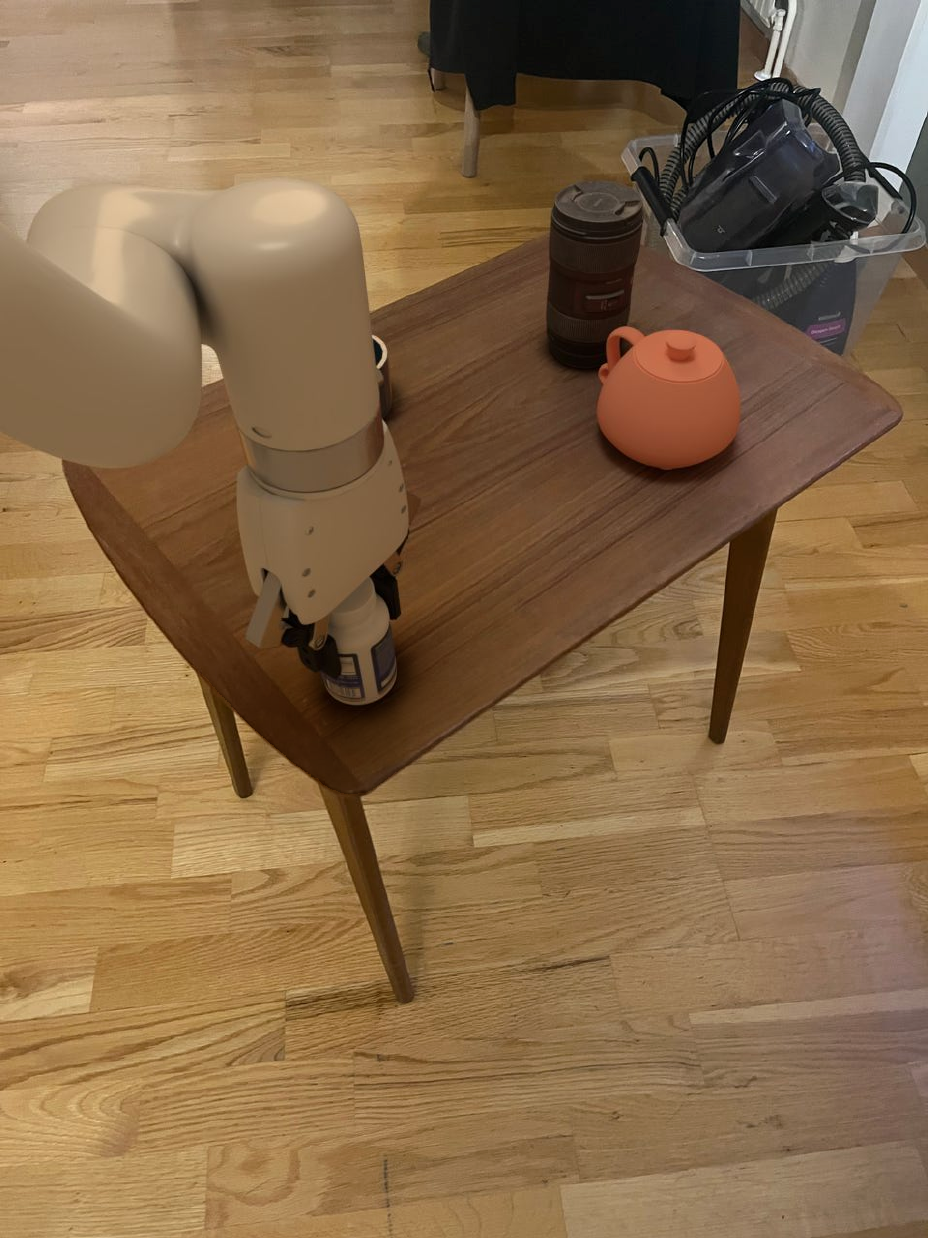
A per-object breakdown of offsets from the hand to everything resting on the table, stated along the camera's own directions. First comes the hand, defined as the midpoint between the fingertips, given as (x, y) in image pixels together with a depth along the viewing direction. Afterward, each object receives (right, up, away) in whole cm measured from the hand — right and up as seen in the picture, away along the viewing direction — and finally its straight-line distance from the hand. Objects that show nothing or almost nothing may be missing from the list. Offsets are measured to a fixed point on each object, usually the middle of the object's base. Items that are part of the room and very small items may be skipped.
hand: (352, 635), depth 62 cm
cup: (-3, +21, +23) cm, 32 cm away
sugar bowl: (+25, +18, +20) cm, 37 cm away
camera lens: (+20, +28, +28) cm, 44 cm away
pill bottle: (0, -3, +4) cm, 5 cm away
